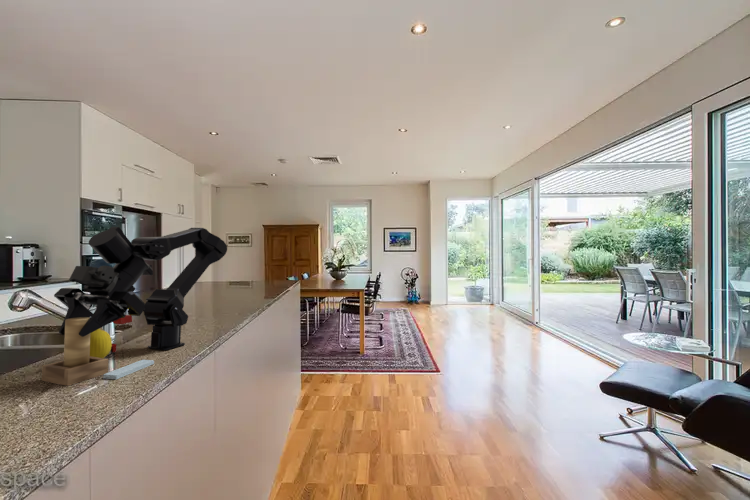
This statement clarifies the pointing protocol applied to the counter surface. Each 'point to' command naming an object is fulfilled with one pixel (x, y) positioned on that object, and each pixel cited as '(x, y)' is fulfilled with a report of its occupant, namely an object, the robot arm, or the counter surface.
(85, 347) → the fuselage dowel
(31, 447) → the counter surface
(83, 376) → the square wooden tray
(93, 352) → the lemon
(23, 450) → the counter surface
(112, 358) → the counter surface
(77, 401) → the counter surface
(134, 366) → the plate
